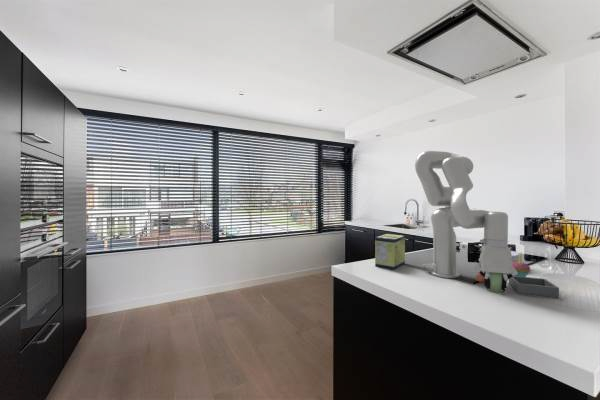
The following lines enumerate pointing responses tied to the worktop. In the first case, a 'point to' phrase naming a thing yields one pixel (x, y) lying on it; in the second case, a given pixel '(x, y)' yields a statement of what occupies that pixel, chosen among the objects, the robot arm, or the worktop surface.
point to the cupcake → (521, 268)
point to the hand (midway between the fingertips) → (495, 288)
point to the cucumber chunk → (495, 282)
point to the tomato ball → (480, 278)
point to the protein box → (389, 251)
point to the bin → (534, 287)
